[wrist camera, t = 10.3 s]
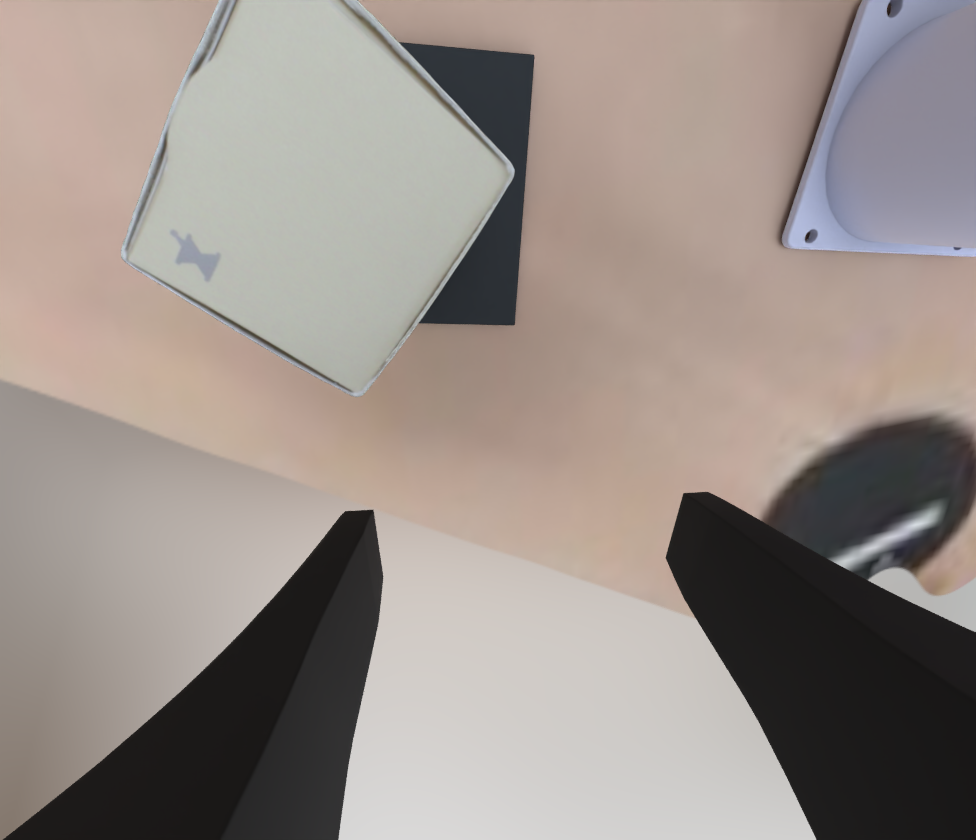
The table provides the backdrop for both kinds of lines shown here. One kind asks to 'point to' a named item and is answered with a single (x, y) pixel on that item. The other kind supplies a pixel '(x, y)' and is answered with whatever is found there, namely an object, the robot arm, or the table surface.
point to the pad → (505, 121)
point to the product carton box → (313, 186)
